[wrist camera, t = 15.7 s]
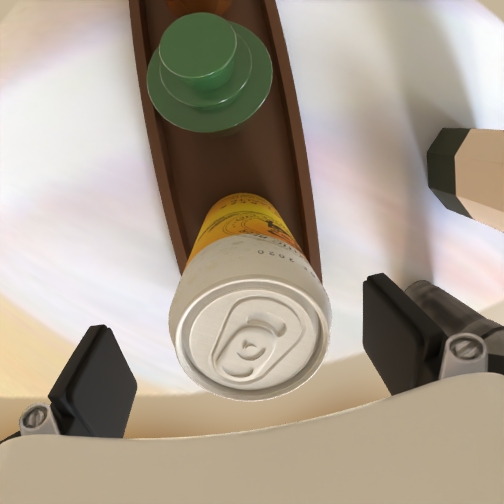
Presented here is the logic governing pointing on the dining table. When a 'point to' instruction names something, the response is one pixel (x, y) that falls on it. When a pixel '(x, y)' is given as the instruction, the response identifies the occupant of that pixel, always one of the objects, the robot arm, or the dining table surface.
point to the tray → (229, 140)
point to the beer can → (249, 305)
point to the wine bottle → (469, 173)
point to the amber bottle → (197, 6)
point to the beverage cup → (456, 315)
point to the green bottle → (209, 75)
